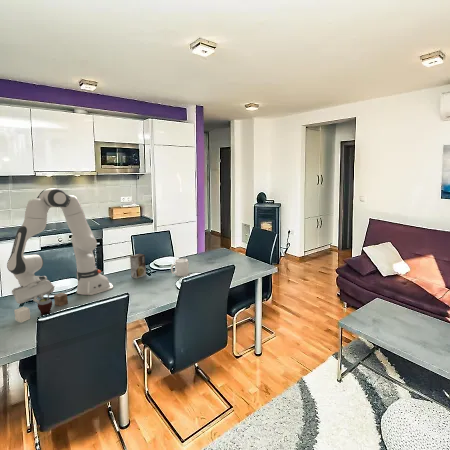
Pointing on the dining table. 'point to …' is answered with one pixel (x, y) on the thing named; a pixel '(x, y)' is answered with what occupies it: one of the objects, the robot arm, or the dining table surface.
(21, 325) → the dining table surface
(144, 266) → the coffee box
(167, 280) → the dining table surface
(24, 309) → the off-white block
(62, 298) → the walnut block
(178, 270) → the mug
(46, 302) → the mate gourd
